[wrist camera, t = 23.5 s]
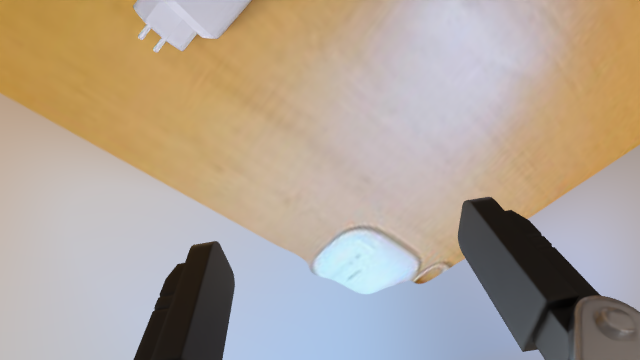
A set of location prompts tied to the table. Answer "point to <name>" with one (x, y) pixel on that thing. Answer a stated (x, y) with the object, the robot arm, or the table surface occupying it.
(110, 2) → the table surface
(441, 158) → the table surface
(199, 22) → the charger
